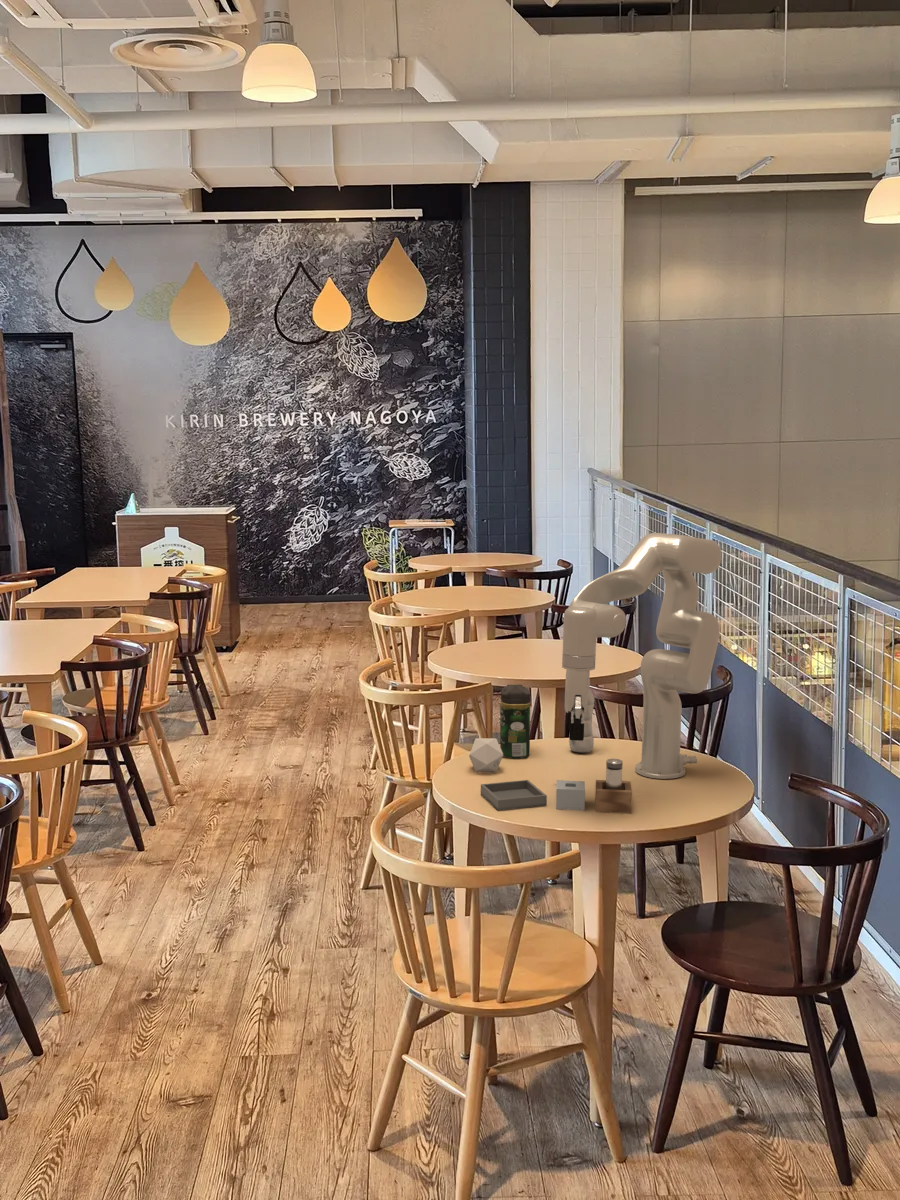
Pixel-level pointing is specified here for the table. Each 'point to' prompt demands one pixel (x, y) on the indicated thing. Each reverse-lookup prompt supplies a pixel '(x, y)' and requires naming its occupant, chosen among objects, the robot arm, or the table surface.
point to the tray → (513, 795)
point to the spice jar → (614, 774)
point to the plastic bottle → (585, 729)
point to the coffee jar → (515, 721)
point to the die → (486, 755)
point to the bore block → (613, 798)
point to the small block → (570, 795)
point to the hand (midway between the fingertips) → (575, 734)
